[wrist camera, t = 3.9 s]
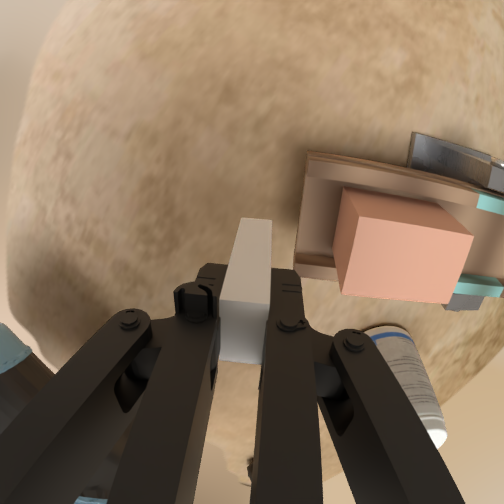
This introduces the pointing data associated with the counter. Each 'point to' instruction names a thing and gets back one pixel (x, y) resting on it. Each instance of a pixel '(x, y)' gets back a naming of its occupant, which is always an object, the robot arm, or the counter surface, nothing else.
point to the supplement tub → (411, 377)
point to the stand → (460, 168)
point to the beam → (408, 185)
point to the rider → (398, 247)
